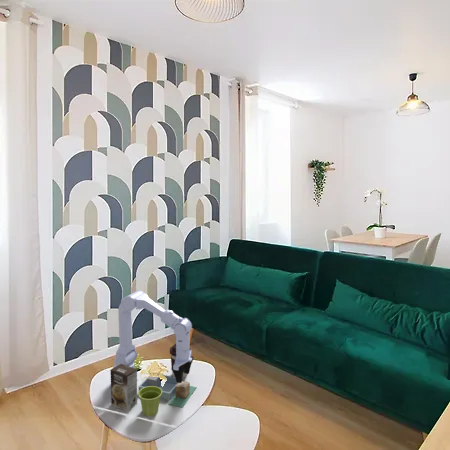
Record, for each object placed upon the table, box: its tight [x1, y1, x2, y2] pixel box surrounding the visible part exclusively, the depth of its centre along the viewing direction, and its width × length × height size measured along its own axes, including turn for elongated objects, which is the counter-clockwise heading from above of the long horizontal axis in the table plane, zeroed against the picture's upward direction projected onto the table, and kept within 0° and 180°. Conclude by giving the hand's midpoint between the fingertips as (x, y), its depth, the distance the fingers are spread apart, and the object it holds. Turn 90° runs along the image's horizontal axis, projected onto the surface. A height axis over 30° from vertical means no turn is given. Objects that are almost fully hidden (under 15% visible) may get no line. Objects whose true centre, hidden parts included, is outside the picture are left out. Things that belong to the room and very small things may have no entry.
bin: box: [138, 374, 178, 401], centre depth 167 cm, size 15×12×4 cm
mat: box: [168, 385, 197, 408], centre depth 162 cm, size 6×15×1 cm, turn 162°
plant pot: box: [137, 386, 162, 417], centre depth 151 cm, size 9×9×9 cm
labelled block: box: [175, 380, 191, 399], centre depth 161 cm, size 4×4×5 cm
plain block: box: [146, 375, 161, 387], centre depth 167 cm, size 4×4×5 cm
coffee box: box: [109, 364, 138, 412], centre depth 154 cm, size 9×6×16 cm
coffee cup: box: [169, 343, 192, 379], centre depth 178 cm, size 10×10×15 cm
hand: (182, 377), depth 161 cm, fingers open, 7 cm apart
